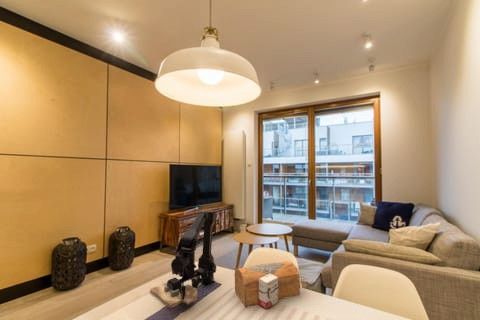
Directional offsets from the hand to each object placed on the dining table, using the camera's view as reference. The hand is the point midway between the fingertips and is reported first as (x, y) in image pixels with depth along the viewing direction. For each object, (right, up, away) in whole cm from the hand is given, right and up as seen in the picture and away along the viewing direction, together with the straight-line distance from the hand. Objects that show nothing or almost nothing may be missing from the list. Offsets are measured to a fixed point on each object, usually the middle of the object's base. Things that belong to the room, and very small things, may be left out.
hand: (188, 297), depth 108 cm
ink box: (+37, -3, 0) cm, 38 cm away
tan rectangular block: (0, -1, 0) cm, 1 cm away
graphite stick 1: (-11, -2, +11) cm, 16 cm away
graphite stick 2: (-7, -2, +6) cm, 10 cm away
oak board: (-10, -4, +9) cm, 14 cm away
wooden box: (+38, -5, +10) cm, 39 cm away
